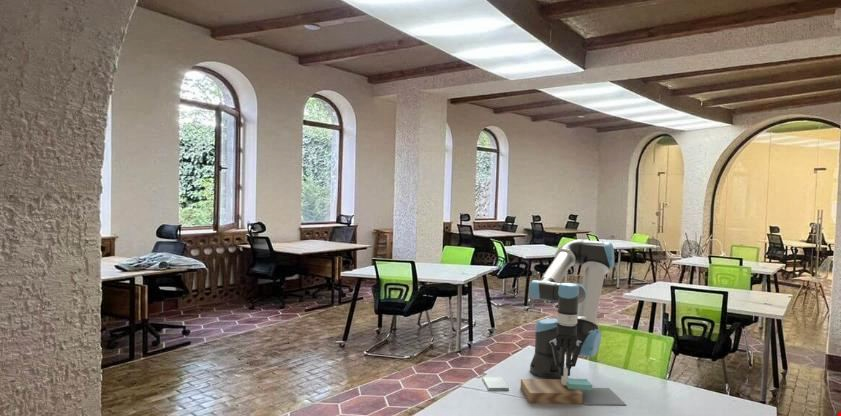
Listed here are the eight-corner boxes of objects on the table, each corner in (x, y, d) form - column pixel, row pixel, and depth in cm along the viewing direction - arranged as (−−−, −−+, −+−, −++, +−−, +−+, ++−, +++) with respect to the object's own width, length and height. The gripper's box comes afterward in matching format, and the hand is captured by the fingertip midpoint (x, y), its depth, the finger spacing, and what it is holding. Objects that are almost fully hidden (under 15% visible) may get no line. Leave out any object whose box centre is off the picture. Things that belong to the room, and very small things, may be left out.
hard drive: (509, 387, 210) (501, 376, 222) (488, 387, 209) (482, 376, 221) (508, 392, 210) (501, 380, 222) (488, 392, 209) (482, 380, 221)
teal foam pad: (568, 389, 202) (568, 383, 202) (563, 383, 208) (564, 378, 208) (591, 390, 203) (592, 385, 203) (586, 384, 209) (586, 379, 209)
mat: (584, 405, 198) (584, 404, 198) (569, 388, 214) (569, 387, 214) (626, 405, 199) (626, 404, 199) (608, 388, 215) (608, 387, 215)
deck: (529, 403, 198) (529, 392, 198) (520, 388, 212) (520, 378, 212) (582, 403, 199) (582, 393, 199) (569, 389, 213) (569, 379, 213)
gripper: (553, 325, 201) (550, 387, 202) (587, 326, 201) (584, 387, 202) (547, 320, 208) (544, 379, 209) (580, 321, 209) (577, 380, 210)
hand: (564, 383), depth 206 cm, fingers closed
